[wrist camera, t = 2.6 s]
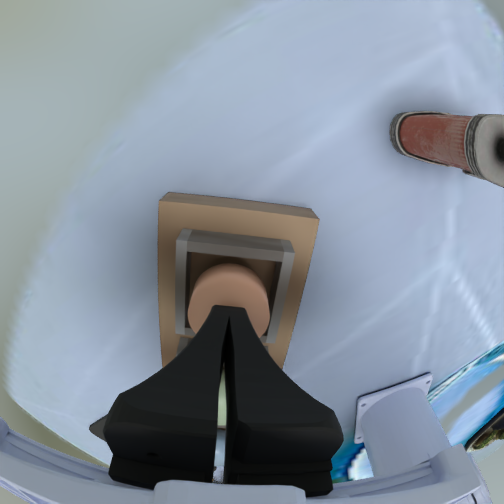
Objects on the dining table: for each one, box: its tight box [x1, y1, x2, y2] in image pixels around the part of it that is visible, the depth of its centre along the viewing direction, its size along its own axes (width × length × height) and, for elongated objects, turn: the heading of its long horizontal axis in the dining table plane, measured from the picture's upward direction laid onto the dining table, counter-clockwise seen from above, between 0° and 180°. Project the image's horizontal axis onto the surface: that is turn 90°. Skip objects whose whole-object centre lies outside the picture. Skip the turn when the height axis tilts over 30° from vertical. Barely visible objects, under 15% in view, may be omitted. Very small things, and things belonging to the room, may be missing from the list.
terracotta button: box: [188, 263, 270, 338], centre depth 14 cm, size 4×4×2 cm
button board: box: [158, 192, 320, 431], centre depth 19 cm, size 22×8×4 cm, turn 172°
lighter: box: [389, 111, 504, 188], centre depth 10 cm, size 8×3×10 cm, turn 93°
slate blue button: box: [214, 429, 226, 466], centre depth 19 cm, size 4×4×2 cm
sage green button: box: [218, 370, 226, 425], centre depth 16 cm, size 4×4×2 cm
